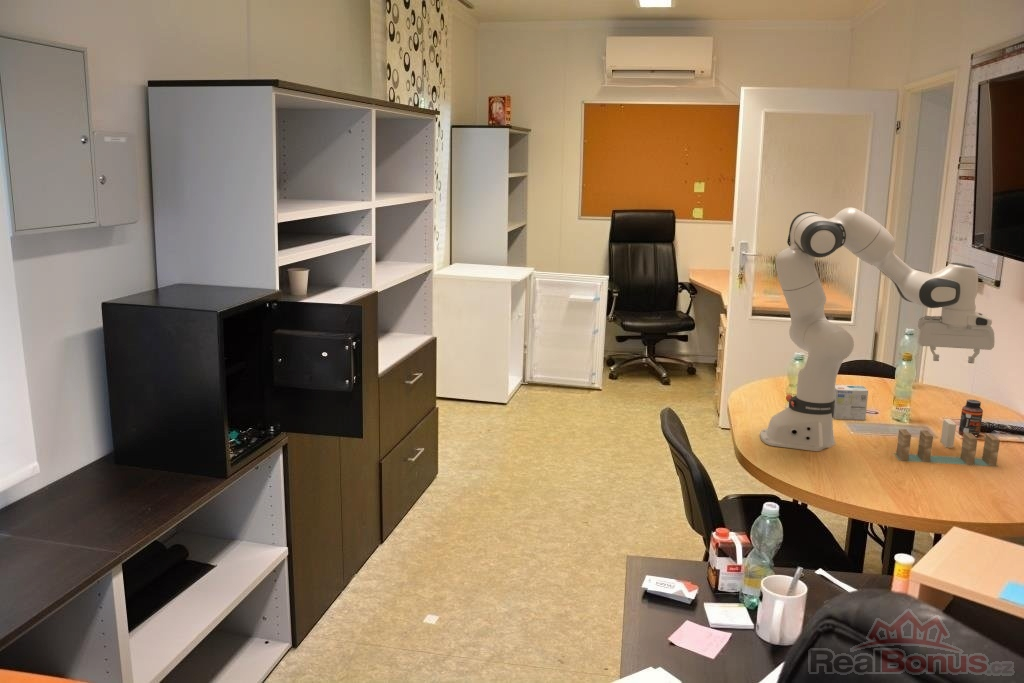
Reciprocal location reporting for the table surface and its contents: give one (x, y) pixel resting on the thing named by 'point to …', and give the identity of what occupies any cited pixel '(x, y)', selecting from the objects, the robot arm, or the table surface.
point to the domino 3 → (948, 433)
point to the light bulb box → (850, 402)
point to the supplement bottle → (971, 418)
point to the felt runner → (945, 460)
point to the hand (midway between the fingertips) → (953, 361)
